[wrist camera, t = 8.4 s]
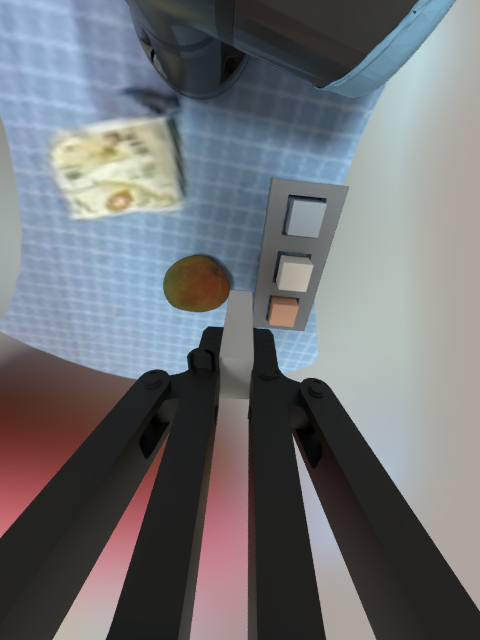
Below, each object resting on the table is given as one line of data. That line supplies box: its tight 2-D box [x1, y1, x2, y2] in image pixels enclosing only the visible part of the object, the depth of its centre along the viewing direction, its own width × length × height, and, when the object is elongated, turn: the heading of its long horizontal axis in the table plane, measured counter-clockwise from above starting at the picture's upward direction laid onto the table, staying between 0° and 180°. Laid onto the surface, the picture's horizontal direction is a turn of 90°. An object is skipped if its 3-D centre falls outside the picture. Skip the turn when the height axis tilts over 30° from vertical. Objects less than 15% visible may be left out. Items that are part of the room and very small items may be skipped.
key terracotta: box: [268, 295, 299, 327], centre depth 46 cm, size 5×5×4 cm
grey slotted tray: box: [252, 178, 349, 331], centre depth 43 cm, size 28×12×3 cm, turn 175°
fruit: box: [163, 256, 230, 312], centre depth 42 cm, size 12×13×10 cm
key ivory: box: [276, 255, 314, 292], centre depth 40 cm, size 5×5×4 cm
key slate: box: [284, 198, 327, 238], centre depth 36 cm, size 5×5×4 cm
